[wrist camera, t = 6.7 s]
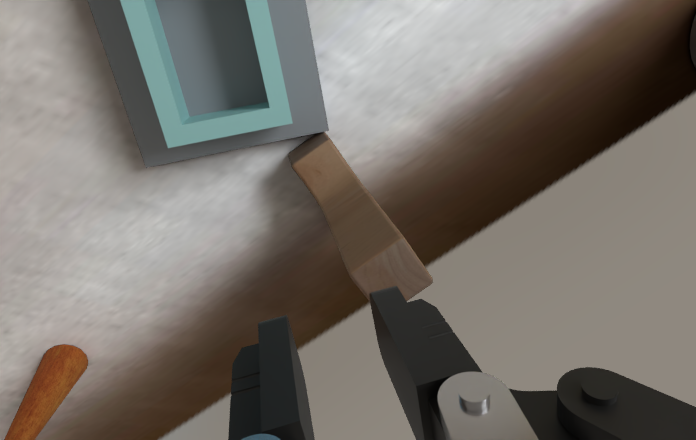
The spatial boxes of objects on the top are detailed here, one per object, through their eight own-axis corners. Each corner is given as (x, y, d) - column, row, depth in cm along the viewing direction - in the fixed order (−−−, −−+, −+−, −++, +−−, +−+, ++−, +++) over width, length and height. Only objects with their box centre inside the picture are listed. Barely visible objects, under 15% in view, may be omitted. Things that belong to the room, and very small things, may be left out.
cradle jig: (282, -109, 28) (288, -139, 24) (325, 127, 34) (336, 139, 30) (67, -79, 27) (29, -105, 22) (150, 162, 33) (133, 181, 28)
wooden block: (367, 194, 37) (435, 283, 23) (335, 217, 37) (383, 319, 23) (321, 128, 34) (367, 184, 20) (287, 154, 34) (308, 226, 21)
